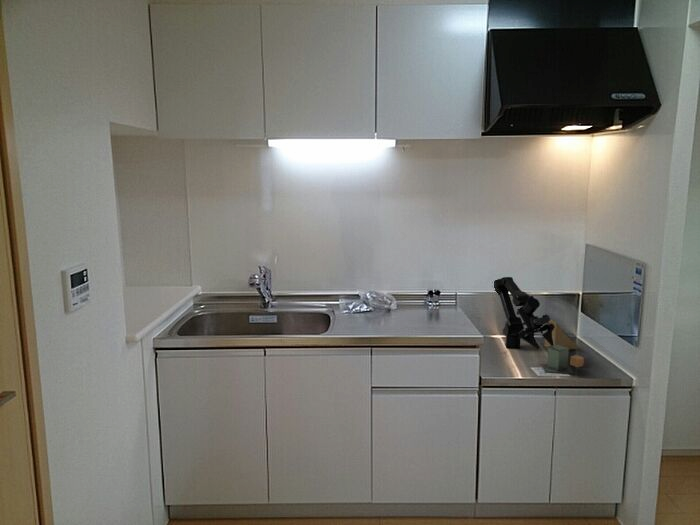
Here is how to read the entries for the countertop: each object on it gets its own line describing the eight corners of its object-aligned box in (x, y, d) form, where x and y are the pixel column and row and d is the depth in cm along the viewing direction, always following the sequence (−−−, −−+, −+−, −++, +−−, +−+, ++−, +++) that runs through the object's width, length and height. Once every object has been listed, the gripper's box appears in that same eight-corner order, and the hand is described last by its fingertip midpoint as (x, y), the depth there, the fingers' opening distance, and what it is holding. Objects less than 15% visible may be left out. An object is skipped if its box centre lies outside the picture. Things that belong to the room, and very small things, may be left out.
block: (569, 364, 228) (570, 356, 227) (575, 363, 230) (576, 354, 229) (577, 367, 224) (578, 359, 224) (583, 365, 226) (583, 357, 226)
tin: (547, 367, 223) (548, 346, 222) (556, 365, 226) (557, 344, 224) (557, 371, 218) (559, 350, 216) (567, 369, 221) (568, 348, 219)
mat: (545, 372, 219) (545, 371, 219) (541, 364, 228) (541, 363, 228) (573, 374, 217) (573, 373, 217) (568, 366, 225) (568, 365, 225)
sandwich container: (580, 348, 249) (583, 320, 246) (554, 351, 245) (556, 322, 243) (569, 343, 257) (571, 315, 255) (543, 345, 253) (545, 317, 251)
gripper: (524, 311, 224) (542, 342, 217) (552, 306, 233) (571, 335, 225) (510, 324, 233) (527, 353, 225) (538, 318, 241) (555, 346, 233)
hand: (545, 347), depth 227 cm, fingers open, 9 cm apart
